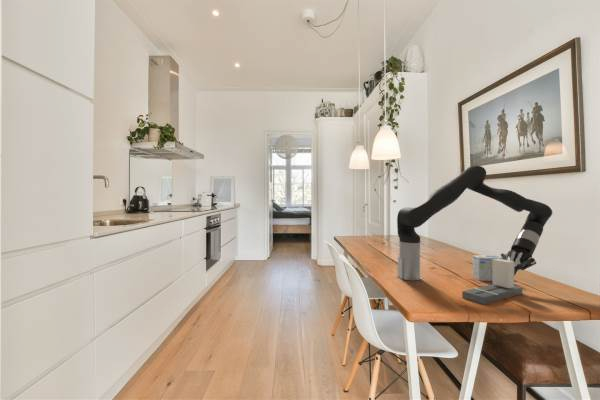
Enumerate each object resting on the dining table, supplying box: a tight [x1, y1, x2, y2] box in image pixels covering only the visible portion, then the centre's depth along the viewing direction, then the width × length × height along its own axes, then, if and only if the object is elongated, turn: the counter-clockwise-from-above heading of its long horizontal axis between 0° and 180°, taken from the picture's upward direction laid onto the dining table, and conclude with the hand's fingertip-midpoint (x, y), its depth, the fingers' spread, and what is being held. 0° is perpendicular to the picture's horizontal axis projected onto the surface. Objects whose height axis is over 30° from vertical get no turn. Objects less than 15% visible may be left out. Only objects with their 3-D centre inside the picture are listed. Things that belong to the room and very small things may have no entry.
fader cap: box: [491, 259, 515, 288], centre depth 118 cm, size 4×6×10 cm, turn 28°
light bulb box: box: [472, 254, 503, 282], centre depth 138 cm, size 11×7×11 cm, turn 84°
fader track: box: [461, 283, 523, 305], centre depth 115 cm, size 26×9×3 cm, turn 118°
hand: (509, 275), depth 120 cm, fingers closed
